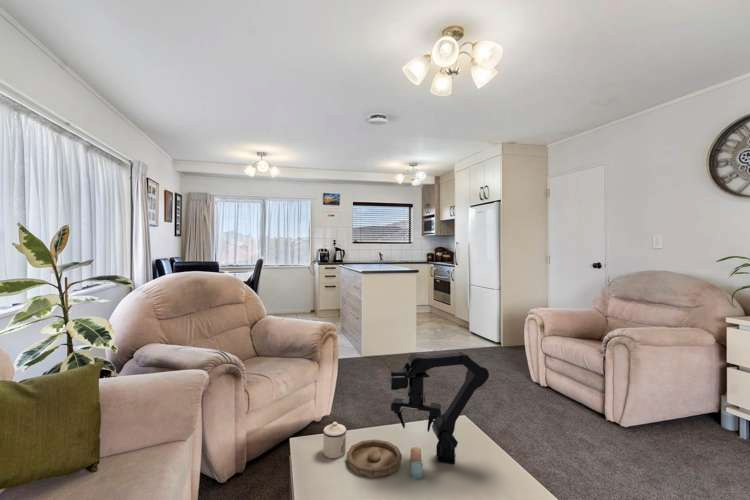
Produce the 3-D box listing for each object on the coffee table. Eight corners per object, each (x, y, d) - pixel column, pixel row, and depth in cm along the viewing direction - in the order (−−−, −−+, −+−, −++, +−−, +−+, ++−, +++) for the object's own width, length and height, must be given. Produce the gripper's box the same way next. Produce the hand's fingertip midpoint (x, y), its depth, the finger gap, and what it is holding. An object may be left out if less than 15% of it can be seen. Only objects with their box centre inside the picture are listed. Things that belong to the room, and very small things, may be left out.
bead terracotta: (421, 458, 135) (422, 448, 135) (420, 464, 131) (420, 453, 131) (411, 456, 136) (411, 446, 136) (409, 462, 132) (409, 451, 132)
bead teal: (423, 473, 126) (423, 462, 126) (421, 480, 122) (421, 468, 122) (412, 471, 127) (412, 460, 127) (410, 478, 123) (410, 466, 123)
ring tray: (405, 451, 140) (405, 444, 140) (393, 482, 120) (393, 474, 120) (357, 442, 145) (357, 436, 145) (339, 471, 126) (339, 464, 126)
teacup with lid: (346, 458, 134) (347, 427, 134) (322, 459, 133) (322, 429, 133) (345, 441, 146) (345, 413, 146) (323, 443, 145) (323, 414, 145)
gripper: (443, 383, 139) (443, 423, 139) (397, 378, 144) (397, 417, 144) (440, 394, 128) (440, 437, 128) (390, 388, 134) (390, 430, 133)
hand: (416, 429), depth 134 cm, fingers open, 9 cm apart
